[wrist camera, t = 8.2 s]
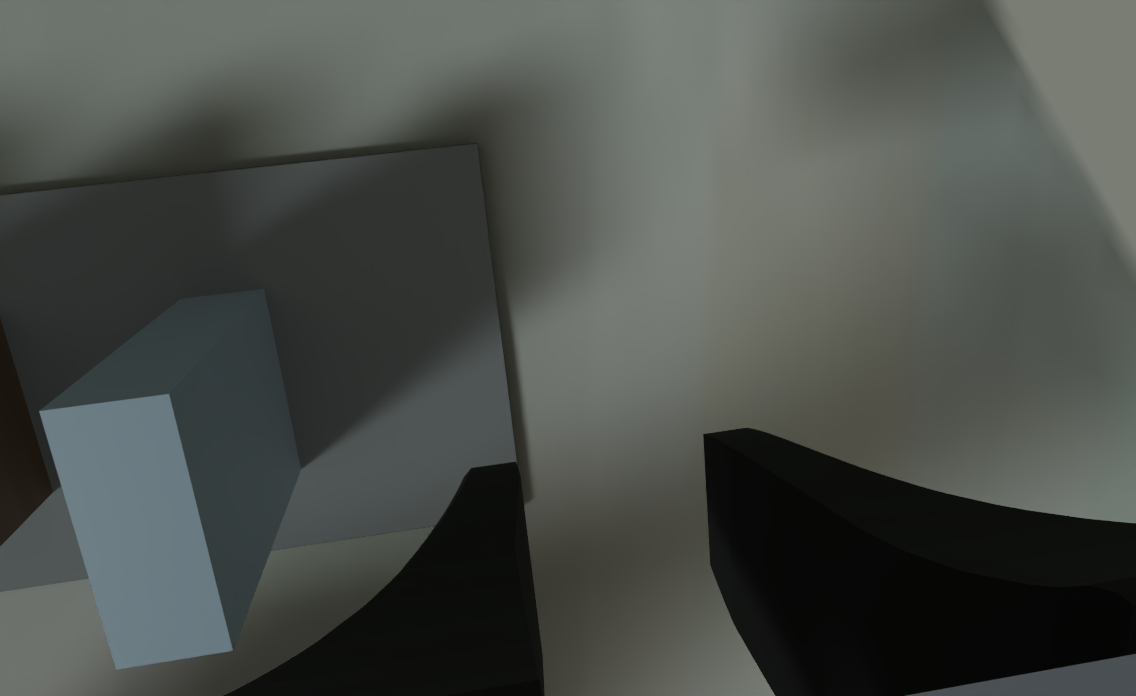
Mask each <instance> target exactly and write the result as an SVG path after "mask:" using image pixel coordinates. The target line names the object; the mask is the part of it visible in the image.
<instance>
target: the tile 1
mask: <svg viewBox="0 0 1136 696" xmlns="http://www.w3.org/2000/svg"><path fill="white" fill-rule="evenodd" d="M52 493H53V490H52V487H51V484H50V480H49V477H48V474H47V471H46V467H45V464H44V461H43V457H42V454H41V451H40V447H39V444H38V441H37V437H36V434H35V431H34V427H33V424H32V421H31V417H30V414H29V411H28V408H27V404H26V401H25V398H24V394H23V391H22V388H21V384H20V381H19V378H18V374H17V371H16V368H15V364H14V361H13V358H12V354H11V351H10V348H9V345H8V341H7V338H6V335H5V331H4V328H3V325H2V321H1V318H0V546H1V545H2V544H3V543H4V542H5V541H6V540H7V539H8V538H9V537H10V536H11V535H12V534H13V533H14V532H15V531H16V530H17V529H18V528H19V527H20V526H21V525H22V524H23V523H24V522H25V521H26V520H27V519H28V518H29V517H30V515H31V514H32V513H33V512H34V511H35V510H36V509H37V508H38V507H39V506H40V505H41V504H42V503H43V502H44V501H45V500H46V499H47V498H48V497H49V496H50V495H51V494H52Z"/></svg>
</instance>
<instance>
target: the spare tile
mask: <svg viewBox="0 0 1136 696" xmlns="http://www.w3.org/2000/svg"><path fill="white" fill-rule="evenodd" d="M39 413H40V416H41V419H42V423H43V426H44V429H45V433H46V436H47V439H48V443H49V446H50V450H51V453H52V456H53V460H54V463H55V466H56V470H57V473H58V476H59V480H60V483H61V486H62V490H63V493H64V497H65V500H66V503H67V507H68V510H69V513H70V517H71V520H72V523H73V527H74V530H75V533H76V537H77V540H78V544H79V547H80V550H81V554H82V557H83V560H84V564H85V567H86V570H87V574H88V577H89V580H90V584H91V587H92V591H93V594H94V597H95V601H96V604H97V607H98V611H99V614H100V617H101V621H102V624H103V627H104V631H105V634H106V638H107V641H108V644H109V648H110V651H111V654H112V658H113V661H114V664H115V668H116V670H118V669H124V668H130V667H136V666H143V665H149V664H155V663H161V662H167V661H173V660H179V659H186V658H192V657H198V656H204V655H210V654H216V653H223V652H229V651H233V649H234V647H235V644H236V641H237V639H238V636H239V633H240V631H241V628H242V625H243V623H244V620H245V617H246V615H247V612H248V609H249V607H250V604H251V601H252V599H253V596H254V593H255V591H256V588H257V586H258V583H259V580H260V578H261V575H262V572H263V570H264V567H265V564H266V562H267V559H268V556H269V554H270V551H271V548H272V546H273V543H274V540H275V538H276V535H277V532H278V530H279V527H280V524H281V522H282V519H283V516H284V514H285V511H286V509H287V506H288V503H289V501H290V498H291V495H292V493H293V490H294V487H295V485H296V482H297V479H298V477H299V474H300V471H301V466H300V461H299V456H298V451H297V446H296V441H295V436H294V432H293V427H292V422H291V417H290V412H289V407H288V402H287V398H286V393H285V388H284V383H283V378H282V373H281V368H280V364H279V359H278V354H277V349H276V344H275V339H274V334H273V330H272V325H271V320H270V315H269V310H268V305H267V300H266V296H265V291H264V289H258V290H250V291H241V292H233V293H225V294H217V295H209V296H200V297H192V298H184V299H180V300H178V301H177V302H176V303H175V304H173V305H172V306H171V307H170V308H168V309H167V310H166V311H164V312H163V313H162V314H161V315H159V316H158V317H157V318H156V319H154V320H153V321H152V322H151V323H149V324H148V325H147V326H146V327H144V328H143V329H142V330H141V331H139V332H138V333H137V334H136V335H134V336H133V337H132V338H131V339H129V340H128V341H127V342H125V343H124V344H123V345H122V346H120V347H119V348H118V349H117V350H115V351H114V352H113V353H112V354H110V355H109V356H108V357H107V358H105V359H104V360H103V361H102V362H100V363H99V364H98V365H97V366H95V367H94V368H93V369H91V370H90V371H89V372H88V373H86V374H85V375H84V376H83V377H81V378H80V379H79V380H78V381H76V382H75V383H74V384H73V385H71V386H70V387H69V388H68V389H66V390H65V391H64V392H63V393H61V394H60V395H59V396H58V397H56V398H55V399H54V400H52V401H51V402H50V403H49V404H47V405H46V406H45V407H44V408H42V409H41V410H40V411H39Z"/></svg>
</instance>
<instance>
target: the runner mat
mask: <svg viewBox="0 0 1136 696" xmlns="http://www.w3.org/2000/svg"><path fill="white" fill-rule="evenodd" d="M258 289H264V291H265V296H266V300H267V305H268V310H269V315H270V320H271V325H272V330H273V334H274V339H275V344H276V349H277V354H278V359H279V364H280V368H281V373H282V378H283V383H284V388H285V393H286V398H287V402H288V407H289V412H290V417H291V422H292V427H293V432H294V436H295V441H296V446H297V451H298V456H299V461H300V466H301V471H300V474H299V477H298V479H297V482H296V485H295V487H294V490H293V493H292V495H291V498H290V501H289V503H288V506H287V509H286V511H285V514H284V516H283V519H282V522H281V524H280V527H279V530H278V532H277V535H276V538H275V540H274V543H273V546H272V548H271V551H272V550H279V549H285V548H292V547H298V546H305V545H312V544H318V543H325V542H331V541H338V540H345V539H351V538H358V537H364V536H371V535H378V534H384V533H391V532H397V531H404V530H410V529H417V528H424V527H430V526H436V524H437V523H438V521H439V520H440V518H441V517H442V515H443V514H444V512H445V511H446V509H447V507H448V506H449V504H450V502H451V501H452V499H453V497H454V495H455V494H456V492H457V490H458V488H459V486H460V484H461V482H462V480H463V477H464V476H465V475H466V474H467V472H468V471H469V470H470V469H471V468H475V467H482V466H489V465H495V464H502V463H509V462H516V463H517V459H516V451H515V443H514V435H513V427H512V419H511V411H510V403H509V395H508V387H507V379H506V371H505V363H504V355H503V347H502V339H501V331H500V323H499V315H498V307H497V299H496V291H495V283H494V275H493V267H492V259H491V251H490V243H489V235H488V227H487V219H486V211H485V203H484V195H483V187H482V179H481V171H480V163H479V155H478V147H477V143H474V144H465V145H455V146H446V147H437V148H428V149H418V150H409V151H400V152H391V153H381V154H372V155H363V156H354V157H344V158H335V159H326V160H317V161H307V162H298V163H289V164H280V165H270V166H261V167H252V168H243V169H233V170H224V171H215V172H206V173H196V174H187V175H178V176H169V177H159V178H150V179H141V180H132V181H122V182H113V183H104V184H95V185H85V186H76V187H67V188H58V189H48V190H39V191H30V192H21V193H11V194H2V195H0V318H1V321H2V325H3V328H4V331H5V335H6V338H7V341H8V345H9V348H10V351H11V354H12V358H13V361H14V364H15V368H16V371H17V374H18V378H19V381H20V384H21V388H22V391H23V394H24V398H25V401H26V404H27V408H28V411H29V414H30V417H31V421H32V424H33V427H34V431H35V434H36V437H37V441H38V444H39V447H40V451H41V454H42V457H43V461H44V464H45V467H46V471H47V474H48V477H49V480H50V484H51V487H52V490H53V493H52V494H51V495H50V496H49V497H48V498H47V499H46V500H45V501H44V502H43V503H42V504H41V505H40V506H39V507H38V508H37V509H36V510H35V511H34V512H33V513H32V514H31V515H30V517H29V518H28V519H27V520H26V521H25V522H24V523H23V524H22V525H21V526H20V527H19V528H18V529H17V530H16V531H15V532H14V533H13V534H12V535H11V536H10V537H9V538H8V539H7V540H6V541H5V542H4V543H3V544H2V545H1V546H0V592H2V591H9V590H15V589H22V588H28V587H35V586H42V585H48V584H55V583H61V582H68V581H75V580H81V579H88V578H89V577H88V574H87V570H86V567H85V564H84V560H83V557H82V554H81V550H80V547H79V544H78V540H77V537H76V533H75V530H74V527H73V523H72V520H71V517H70V513H69V510H68V507H67V503H66V500H65V497H64V493H63V490H62V486H61V483H60V480H59V476H58V473H57V470H56V466H55V463H54V460H53V456H52V453H51V450H50V446H49V443H48V439H47V436H46V433H45V429H44V426H43V423H42V419H41V416H40V413H39V411H40V410H41V409H42V408H44V407H45V406H46V405H47V404H49V403H50V402H51V401H52V400H54V399H55V398H56V397H58V396H59V395H60V394H61V393H63V392H64V391H65V390H66V389H68V388H69V387H70V386H71V385H73V384H74V383H75V382H76V381H78V380H79V379H80V378H81V377H83V376H84V375H85V374H86V373H88V372H89V371H90V370H91V369H93V368H94V367H95V366H97V365H98V364H99V363H100V362H102V361H103V360H104V359H105V358H107V357H108V356H109V355H110V354H112V353H113V352H114V351H115V350H117V349H118V348H119V347H120V346H122V345H123V344H124V343H125V342H127V341H128V340H129V339H131V338H132V337H133V336H134V335H136V334H137V333H138V332H139V331H141V330H142V329H143V328H144V327H146V326H147V325H148V324H149V323H151V322H152V321H153V320H154V319H156V318H157V317H158V316H159V315H161V314H162V313H163V312H164V311H166V310H167V309H168V308H170V307H171V306H172V305H173V304H175V303H176V302H177V301H178V300H180V299H184V298H192V297H200V296H209V295H217V294H225V293H233V292H241V291H250V290H258Z"/></svg>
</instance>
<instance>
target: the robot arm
mask: <svg viewBox="0 0 1136 696" xmlns="http://www.w3.org/2000/svg"><path fill="white" fill-rule="evenodd" d="M703 436H704V455H705V473H706V491H707V510H708V528H709V546H710V565H711V568H712V571H713V573H714V576H715V578H716V581H717V583H718V586H719V589H720V591H721V594H722V596H723V599H724V601H725V604H726V606H727V608H728V611H729V613H730V616H731V618H732V620H733V623H734V625H735V627H736V628H737V630H738V632H739V634H740V636H741V637H742V639H743V641H744V643H745V644H746V646H747V648H748V650H749V651H750V653H751V655H752V657H753V658H754V660H755V662H756V663H757V665H758V667H759V669H760V670H761V672H762V674H763V675H764V677H765V679H766V681H767V682H768V684H769V686H770V687H771V689H772V691H773V692H774V694H775V696H1136V523H1123V522H1113V521H1103V520H1093V519H1084V518H1077V517H1070V516H1063V515H1056V514H1049V513H1042V512H1035V511H1028V510H1022V509H1017V508H1011V507H1006V506H1000V505H995V504H990V503H986V502H982V501H977V500H973V499H968V498H964V497H959V496H955V495H951V494H946V493H942V492H938V491H935V490H931V489H927V488H924V487H920V486H917V485H913V484H910V483H907V482H904V481H901V480H897V479H894V478H891V477H888V476H884V475H881V474H878V473H875V472H872V471H869V470H867V469H864V468H861V467H858V466H855V465H852V464H849V463H847V462H844V461H841V460H839V459H836V458H833V457H831V456H828V455H825V454H823V453H820V452H817V451H815V450H812V449H809V448H807V447H804V446H802V445H799V444H796V443H794V442H791V441H788V440H786V439H783V438H780V437H777V436H774V435H772V434H769V433H766V432H762V431H759V430H755V429H750V428H742V429H736V430H729V431H722V432H715V433H708V434H703ZM224 696H544V677H543V656H542V648H541V640H540V632H539V624H538V616H537V608H536V600H535V592H534V584H533V576H532V568H531V560H530V551H529V543H528V535H527V527H526V519H525V511H524V503H523V495H522V487H521V479H520V473H519V469H518V466H517V463H516V462H509V463H502V464H495V465H489V466H482V467H475V468H471V469H470V470H469V471H468V472H467V474H466V475H465V476H464V477H463V480H462V482H461V484H460V486H459V488H458V490H457V492H456V494H455V495H454V497H453V499H452V501H451V502H450V504H449V506H448V507H447V509H446V511H445V512H444V514H443V515H442V517H441V518H440V520H439V521H438V523H437V524H436V526H435V527H434V529H433V530H432V532H431V533H430V535H429V536H428V538H427V539H426V540H425V542H424V543H423V544H422V545H421V547H420V548H419V549H418V550H417V552H416V553H415V554H414V555H413V557H412V558H411V559H410V560H409V562H408V563H407V564H406V565H405V567H404V568H403V569H402V570H401V571H400V572H399V573H398V575H397V576H396V577H395V578H394V579H393V580H392V581H391V582H390V583H389V584H388V585H386V586H385V587H384V588H383V589H382V590H381V591H380V592H379V593H378V594H377V595H376V596H375V597H374V598H373V599H372V600H371V601H369V602H368V603H367V604H366V605H365V606H364V607H362V608H361V609H360V610H359V611H357V612H356V613H355V614H353V615H352V616H351V617H349V618H348V619H347V620H345V621H344V622H343V623H341V624H340V625H339V626H338V627H336V628H335V629H334V630H332V631H331V632H330V633H328V634H327V635H326V636H324V637H323V638H322V639H320V640H319V641H318V642H316V643H315V644H313V645H312V646H310V647H309V648H307V649H306V650H304V651H302V652H301V653H299V654H298V655H296V656H295V657H293V658H291V659H290V660H288V661H287V662H285V663H283V664H282V665H280V666H278V667H276V668H275V669H273V670H271V671H269V672H268V673H266V674H264V675H262V676H261V677H259V678H257V679H255V680H254V681H252V682H250V683H248V684H246V685H244V686H242V687H240V688H238V689H236V690H235V691H232V692H230V693H228V694H226V695H224Z"/></svg>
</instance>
